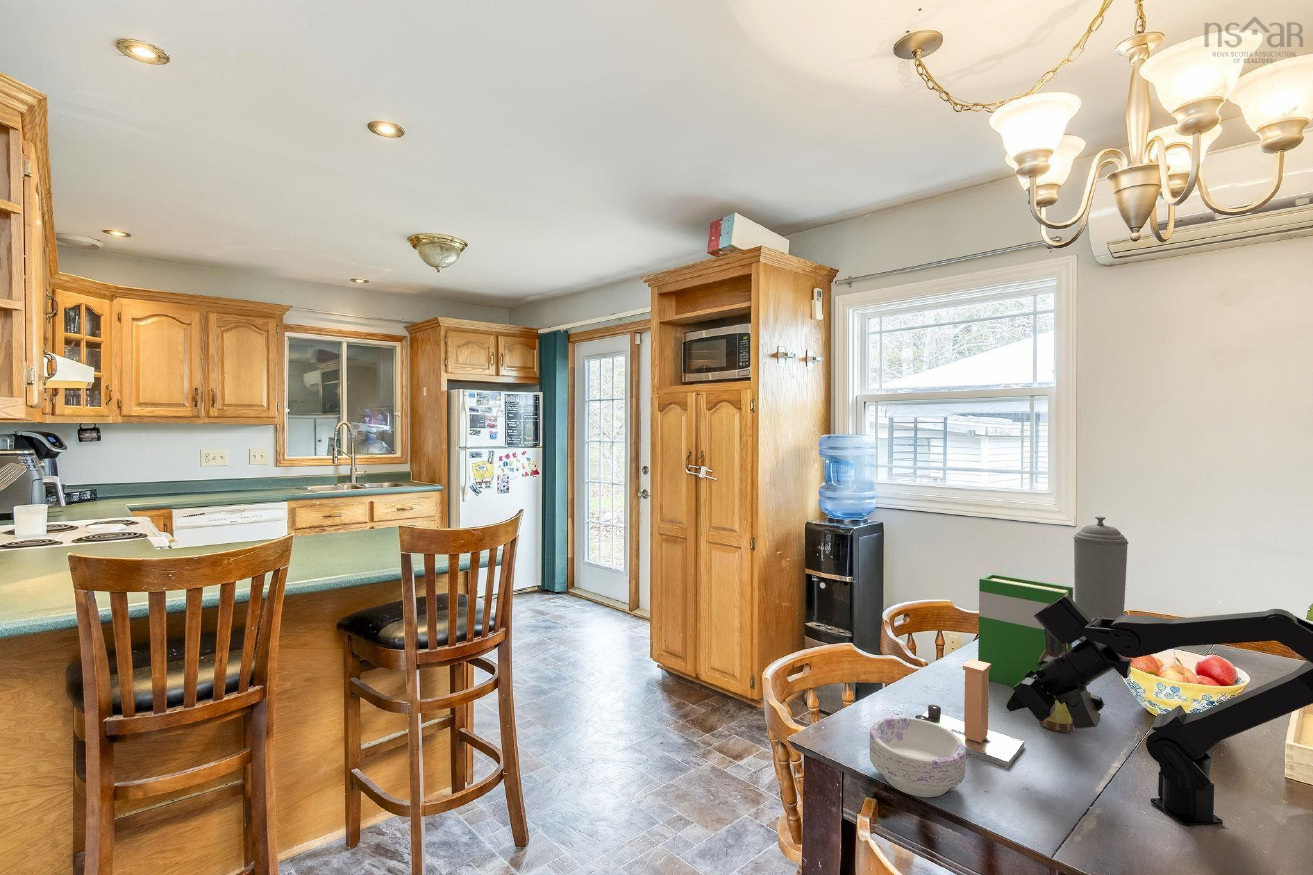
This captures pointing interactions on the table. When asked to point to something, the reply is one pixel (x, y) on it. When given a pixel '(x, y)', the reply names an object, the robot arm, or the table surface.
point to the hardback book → (1013, 624)
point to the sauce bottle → (1061, 714)
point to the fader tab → (976, 700)
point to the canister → (1100, 571)
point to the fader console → (990, 749)
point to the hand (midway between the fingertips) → (1008, 708)
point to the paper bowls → (917, 755)
